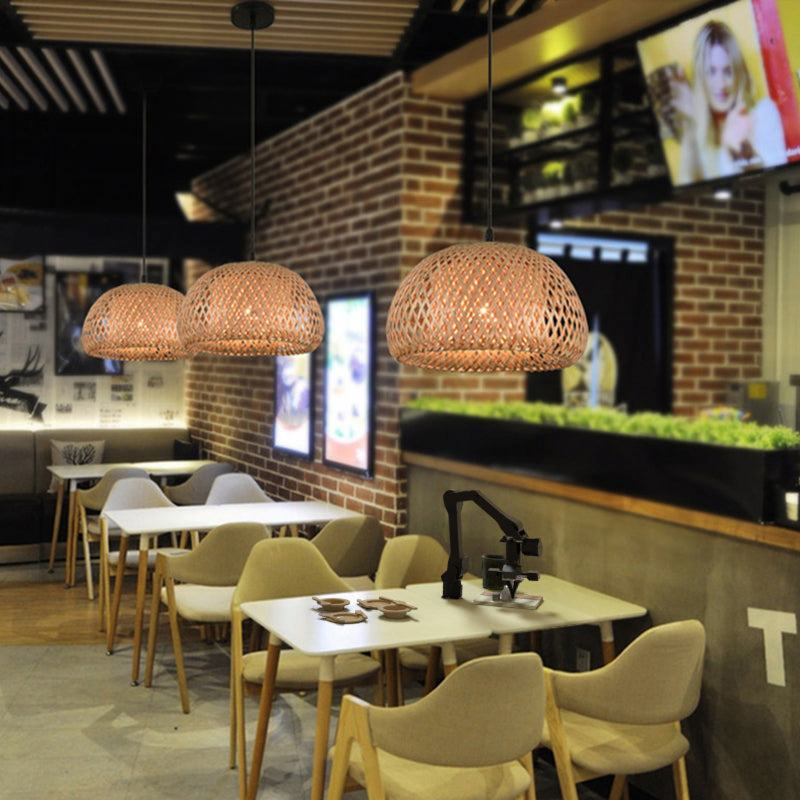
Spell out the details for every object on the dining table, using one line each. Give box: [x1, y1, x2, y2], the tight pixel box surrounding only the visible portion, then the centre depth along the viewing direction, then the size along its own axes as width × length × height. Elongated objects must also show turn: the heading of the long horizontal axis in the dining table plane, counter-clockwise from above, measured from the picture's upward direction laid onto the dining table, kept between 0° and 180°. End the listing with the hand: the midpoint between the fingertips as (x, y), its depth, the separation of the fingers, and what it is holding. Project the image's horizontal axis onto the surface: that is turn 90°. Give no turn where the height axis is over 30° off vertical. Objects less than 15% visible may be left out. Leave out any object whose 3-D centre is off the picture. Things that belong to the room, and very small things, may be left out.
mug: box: [481, 553, 507, 591], centre depth 399 cm, size 11×15×12 cm
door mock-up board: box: [473, 590, 544, 610], centre depth 372 cm, size 22×18×4 cm
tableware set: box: [311, 595, 419, 624], centre depth 349 cm, size 35×29×4 cm
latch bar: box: [500, 585, 511, 601], centre depth 373 cm, size 13×4×4 cm, turn 166°
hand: (512, 598), depth 367 cm, fingers closed
